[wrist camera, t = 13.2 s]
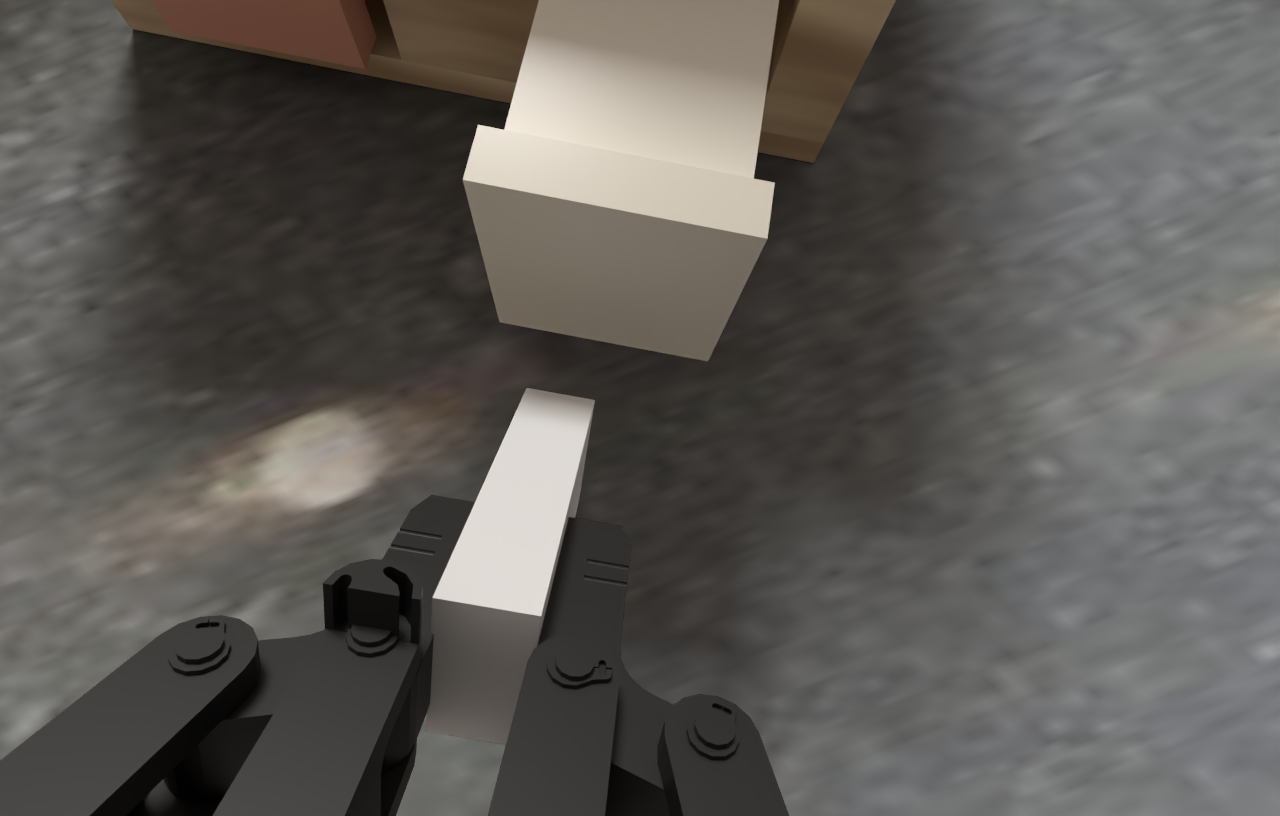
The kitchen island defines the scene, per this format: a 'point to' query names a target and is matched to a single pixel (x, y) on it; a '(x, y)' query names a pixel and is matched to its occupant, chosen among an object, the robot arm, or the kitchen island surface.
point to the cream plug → (628, 172)
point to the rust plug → (280, 26)
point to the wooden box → (499, 31)
